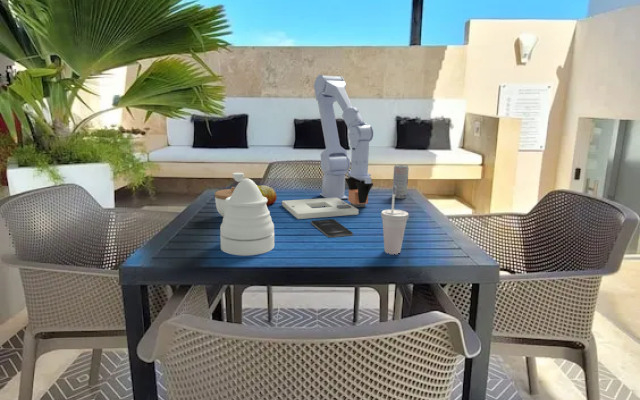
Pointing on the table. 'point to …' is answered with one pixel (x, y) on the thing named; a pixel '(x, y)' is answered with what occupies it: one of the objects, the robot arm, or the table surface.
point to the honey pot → (246, 220)
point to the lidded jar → (222, 199)
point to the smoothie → (393, 228)
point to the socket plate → (332, 208)
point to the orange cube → (355, 199)
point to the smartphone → (331, 228)
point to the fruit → (268, 194)
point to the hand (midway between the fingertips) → (358, 200)
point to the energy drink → (400, 181)
